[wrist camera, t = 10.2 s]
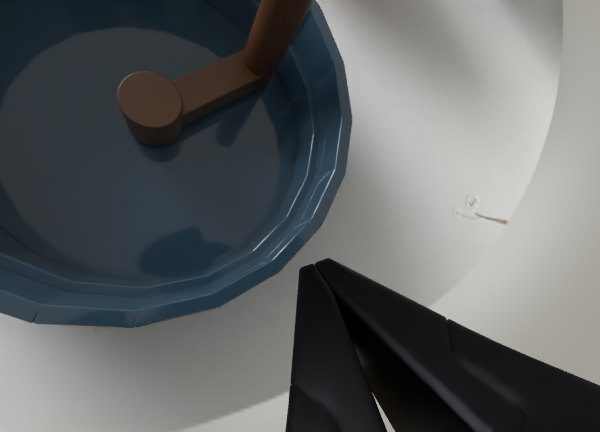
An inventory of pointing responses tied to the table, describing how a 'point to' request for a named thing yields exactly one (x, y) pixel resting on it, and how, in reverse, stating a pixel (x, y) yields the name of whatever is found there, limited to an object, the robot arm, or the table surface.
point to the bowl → (155, 161)
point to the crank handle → (210, 77)
